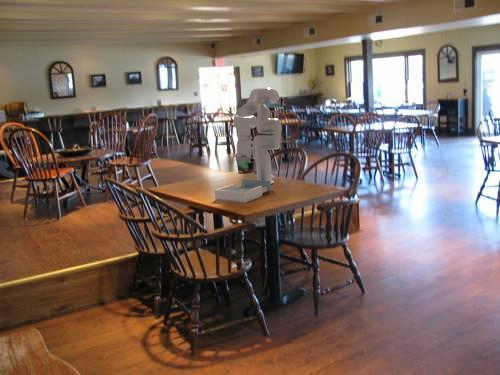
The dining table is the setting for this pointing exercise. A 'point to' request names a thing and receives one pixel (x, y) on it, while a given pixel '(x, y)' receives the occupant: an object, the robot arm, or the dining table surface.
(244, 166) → the food container
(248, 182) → the tray
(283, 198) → the dining table surface
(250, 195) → the shallow white open box
